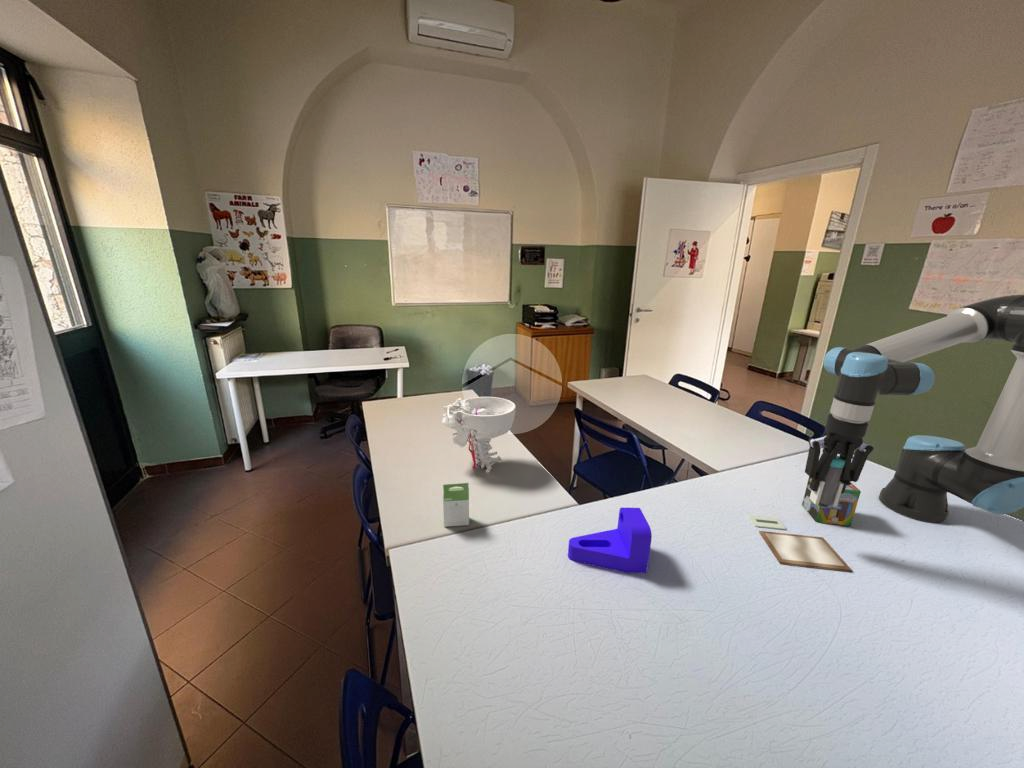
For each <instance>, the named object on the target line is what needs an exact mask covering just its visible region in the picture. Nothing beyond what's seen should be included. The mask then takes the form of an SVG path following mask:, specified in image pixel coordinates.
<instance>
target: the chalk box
mask: <svg viewBox="0 0 1024 768" xmlns="http://www.w3.org/2000/svg"><path fill="white" fill-rule="evenodd" d="M811 480H812V478H811V477H810V476H808V480H807V483H806V484H807V485H806V488H805V492H804V496H803V500H802V503H801V506H802V507H803V508H804V509H805V511H806V512H807V513H808V514H809V516H810V517H811V518H812V519H813V521H814V522H815V523H822V524H831V525H838V526H845V527H846V526H847V527H852V523H853V520H854V516H855V512H856V510H857V506H858V503H859V498H860V495H861V490H860V489H859V488H858V487H857V486H855V484H853V483H852V482H851V484H850V485H846V488H845V491H844V493H843V494H840V497H839V501H838V504H837V507H835V506H833V505H829V506H828V507H822V506H820V505H816V504H814V503H813V502H812V501H811V500H810V499H809V498H810V494H811V491H812V490H811V489H810V483H811Z"/></svg>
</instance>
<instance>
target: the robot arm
mask: <svg viewBox="0 0 1024 768" xmlns="http://www.w3.org/2000/svg"><path fill="white" fill-rule="evenodd" d="M983 340H993V341H994V340H995V341H997V340H999V341H1004V342H1005V341H1006V342H1008V343H1009V342H1011V343H1013V345H1012V348H1011V349H1010V351H1011V353H1012V354H1013V355H1014V356H1015V357H1016V360H1015V363H1014V364H1013V367H1012V369H1011V371H1010V373H1009V375H1008V378H1007V380H1006V382H1005V384H1004V386H1003V388H1002V390H1001V392H1000V394H999V397H998V399H997V401H996V403H995V405H994V408H993V410H992V412H991V414H990V416H989V418H988V421H987V423H986V424H985V426H984V429H983V431H982V433H981V435H980V437H979V440H978V442H977V444H976V446H973V447H969V448H966V445H965V444H964V443H963V442H960V441H957V440H954V439H950V438H945V437H941V436H933V435H925V434H923V435H922V434H921V435H920V434H918V435H917V434H916V435H912V436H909V437H908V438H907V439H906V442H905V443H904V446H903V447H902V451H901V454H900V457H899V460H898V463H897V466H896V469H895V472H894V475H893V477H892V479H890V481H889V482H888V483H887V484H886V486H885V487H883V488H882V489H881V491H880V492H879V495H878V500H879V501H880V503H881V504H882V505H883V506H884V507H887V508H888V509H890V510H892V511H893V512H896V513H898V514H900V515H903V516H904V517H908V518H911V519H914V520H918V521H920V522H921V521H922V522H927V523H935V524H936V523H943V522H946V520H947V518H948V515H949V504H948V503H949V502H948V495H947V494H948V493H949V494H951V495H953V496H955V497H957V498H960V499H961V500H963V501H965V502H967V503H969V504H970V505H972V506H973V507H976V508H980V509H982V510H984V511H986V512H988V513H990V514H995V515H1009V514H1012V513H1013V514H1014V513H1015V512H1018V511H1020V510H1022V509H1023V508H1024V294H1011V295H1003V296H998V297H994V298H993V297H992V298H988V299H984V300H980V301H978V302H974V303H970V304H967V305H964V306H962V307H958V308H956V309H952V311H950V312H949V313H948V314H947V315H946V316H944V317H941V318H938V319H935V320H933V321H929V322H926V323H924V324H921V325H919V326H916V327H912V328H910V329H907V330H904V331H901V332H898V333H896V334H893V335H890V336H886V337H885V338H880V339H878V340H875V341H873V342H868V343H867V344H864V345H860V346H858V347H854V348H848V347H842V346H837V347H833V348H831V349H830V350H828V351H827V353H826V354H825V356H824V357H823V361H822V362H823V368H824V369H825V371H826V372H827V373H829V374H832V375H835V376H836V377H838V381H837V385H836V388H835V392H834V396H833V398H832V399H833V400H832V403H831V406H830V409H829V413H830V414H828V416H827V420H826V424H825V426H824V427H825V428H824V432H823V434H822V435H821V437H817V438H813V437H810V438H808V445H809V448H808V452H807V453H808V454H807V459H806V464H805V469H804V473H805V474H806V475H807V476H808V477H809V476H810V477H811V478H812V480H811V483H810V489H811V490H812V491H811V494H810V498H809V499H810V500H811V501H812V502H813V503H814V504H816V505H818V504H819V501H820V498H821V494H822V491H823V488H824V484H825V482H824V481H823V480H822V479H823V477H824V475H825V474H826V472H827V470H828V468H829V466H830V464H831V462H832V460H833V459H834V458H836V456H838V455H839V456H840V457H841V458H843V459H844V460H845V464H844V467H843V470H842V473H841V476H840V480H839V483H838V486H837V489H836V492H835V496H834V499H833V502H832V504H831V505H833V506H835V507H837V504H838V501H839V497H840V494H843V493H844V491H845V488H846V485H850V484H851V483H852V482H854V483H856V482H858V481H859V478H860V476H861V474H862V472H863V469H864V466H865V464H866V462H867V460H868V457H869V456H870V454H871V453H872V452H873V451H874V449H875V448H874V447H873V446H872V445H871V444H870V443H867V442H865V441H864V440H863V438H864V437H865V436H866V433H867V429H868V427H869V423H868V422H869V421H871V417H872V414H873V411H874V408H875V405H876V401H877V398H878V396H879V395H881V396H889V395H890V396H893V395H894V396H895V395H896V396H912V395H913V396H914V395H921V394H923V393H927V392H928V391H929V390H931V388H932V387H933V386H934V383H935V381H936V380H935V378H936V377H935V373H934V371H933V369H932V368H931V367H930V366H928V365H926V363H925V364H924V363H920V362H914V361H911V360H915V359H917V358H920V357H923V356H926V355H929V354H932V353H935V352H938V351H941V350H945V349H947V348H950V347H952V346H955V345H958V344H961V343H965V344H972V343H977V342H979V341H983ZM909 361H910V362H909ZM823 445H824V447H823ZM821 449H822V453H821ZM854 452H855V453H854Z"/></svg>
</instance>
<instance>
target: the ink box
mask: <svg viewBox="0 0 1024 768" xmlns="http://www.w3.org/2000/svg"><path fill="white" fill-rule="evenodd" d="M469 487H470V486H469V482H461V483H449V484H447V483H445V484H443V486H442V488H443V495H442V502H443V505H442V506H443V508H442V509H443V526H444V528H447V527H460V526H469V525H470V492H469V491H470V488H469Z"/></svg>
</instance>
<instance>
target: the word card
mask: <svg viewBox="0 0 1024 768" xmlns="http://www.w3.org/2000/svg"><path fill="white" fill-rule="evenodd" d="M747 515H748V516H747V517H748V519H749V520H750V521H751V523H752V525H753V526H754V527H755V528H763V529H772V530H773V529H774V530H781V531H783V530H784V531H786V530H787V528H786V526H785V525H784V524H783V522H782V521H781V520H780V519H779V517H774V516H773V517H772V516H763V515H762V516H761V515H753V514H747Z"/></svg>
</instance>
